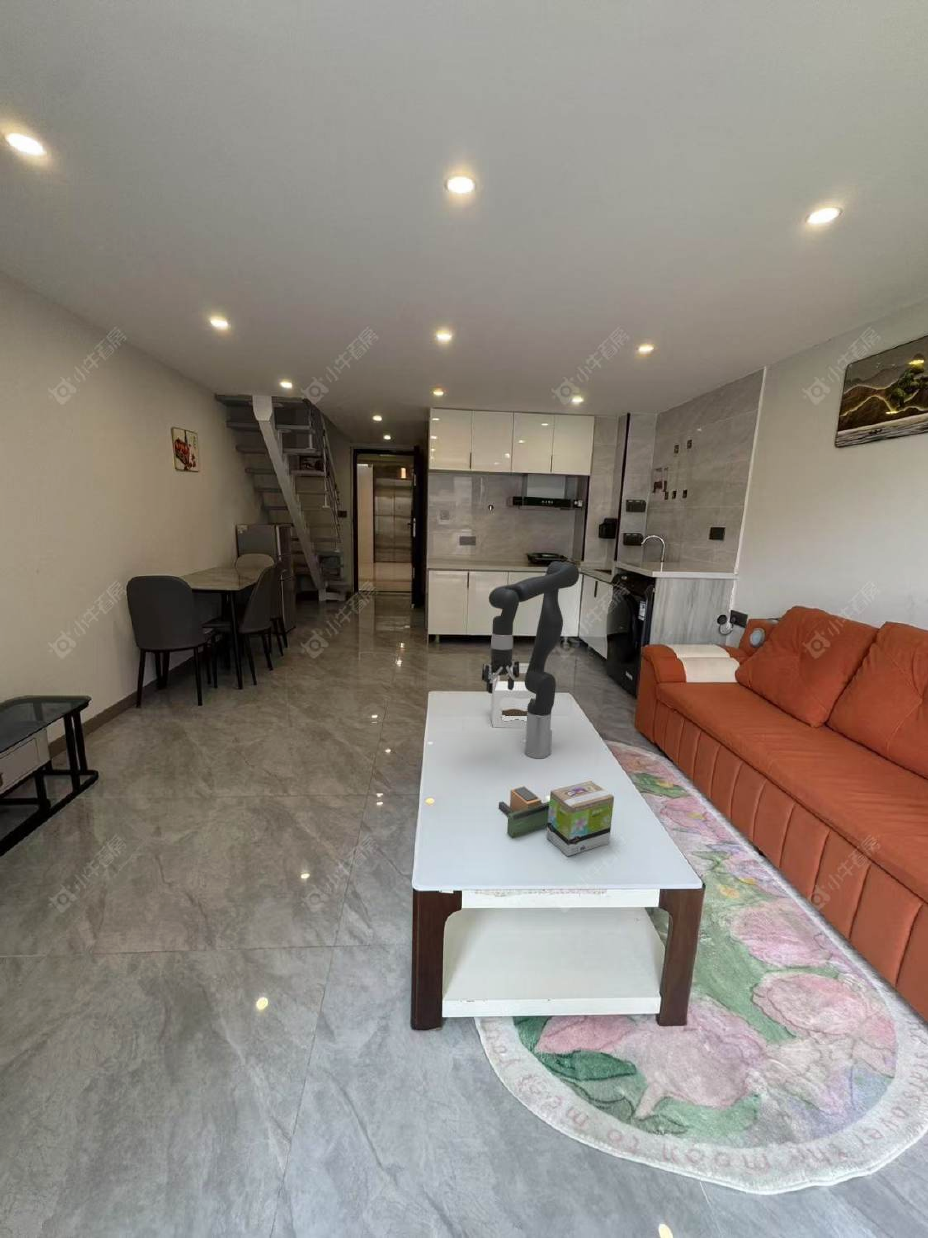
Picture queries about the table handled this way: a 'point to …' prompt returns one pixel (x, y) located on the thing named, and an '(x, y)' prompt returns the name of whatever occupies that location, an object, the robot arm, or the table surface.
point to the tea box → (579, 817)
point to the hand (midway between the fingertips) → (500, 691)
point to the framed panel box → (523, 799)
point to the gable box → (502, 691)
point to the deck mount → (525, 818)
